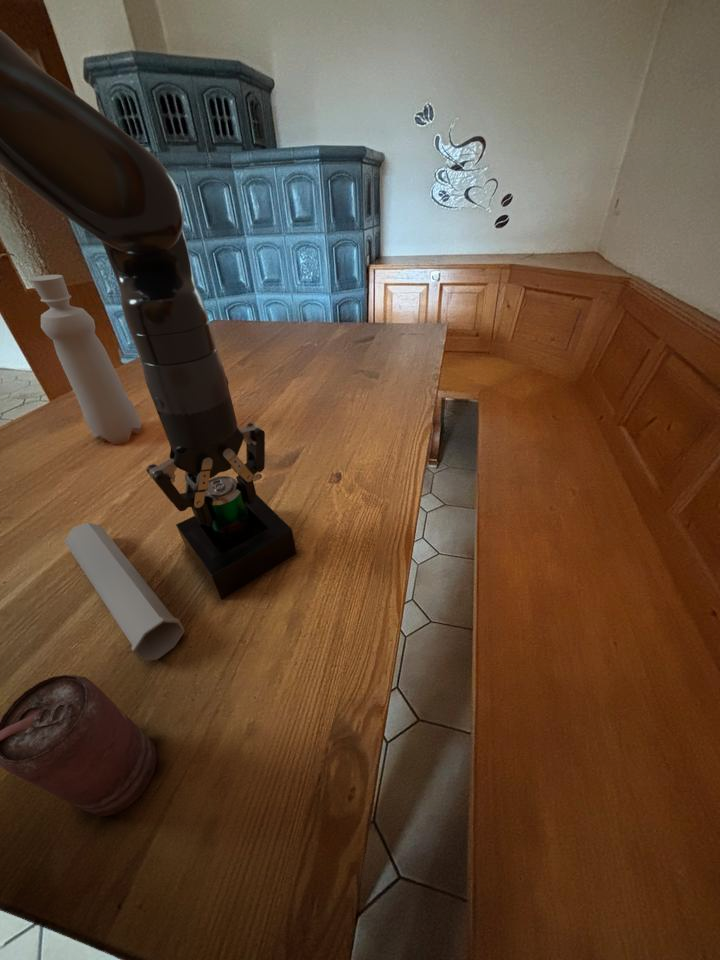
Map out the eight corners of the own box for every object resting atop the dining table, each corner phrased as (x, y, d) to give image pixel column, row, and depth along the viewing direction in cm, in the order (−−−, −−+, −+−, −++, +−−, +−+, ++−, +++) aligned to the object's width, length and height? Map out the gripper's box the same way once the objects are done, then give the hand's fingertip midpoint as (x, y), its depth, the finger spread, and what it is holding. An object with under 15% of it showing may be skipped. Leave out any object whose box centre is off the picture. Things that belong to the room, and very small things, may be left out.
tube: (49, 537, 53) (122, 655, 39) (83, 509, 55) (164, 613, 41) (80, 554, 57) (156, 666, 44) (111, 527, 59) (192, 627, 45)
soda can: (228, 568, 53) (205, 505, 46) (216, 546, 56) (193, 483, 49) (262, 552, 55) (245, 489, 48) (248, 531, 59) (231, 469, 51)
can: (73, 776, 35) (-26, 717, 26) (143, 721, 38) (77, 652, 30) (93, 840, 32) (-12, 797, 23) (169, 774, 35) (103, 714, 26)
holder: (296, 553, 55) (292, 529, 52) (221, 599, 49) (211, 575, 46) (256, 512, 62) (250, 488, 59) (186, 548, 56) (175, 524, 53)
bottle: (153, 427, 83) (91, 273, 64) (121, 450, 76) (41, 285, 58) (120, 421, 85) (50, 270, 66) (85, 443, 79) (-3, 282, 60)
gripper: (234, 364, 46) (259, 475, 57) (107, 405, 38) (163, 524, 49) (270, 383, 42) (289, 499, 53) (134, 433, 34) (189, 556, 45)
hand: (228, 510), depth 51 cm, fingers open, 5 cm apart
